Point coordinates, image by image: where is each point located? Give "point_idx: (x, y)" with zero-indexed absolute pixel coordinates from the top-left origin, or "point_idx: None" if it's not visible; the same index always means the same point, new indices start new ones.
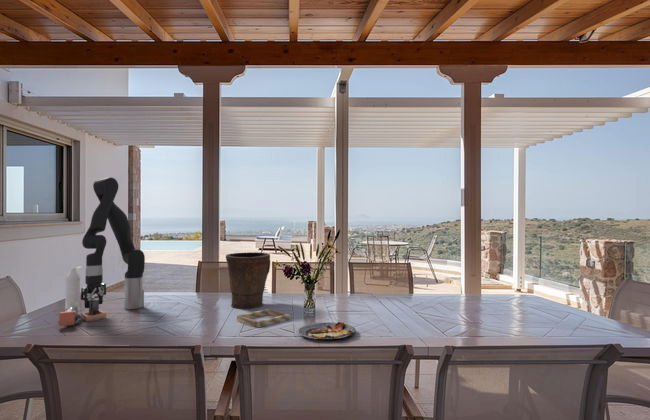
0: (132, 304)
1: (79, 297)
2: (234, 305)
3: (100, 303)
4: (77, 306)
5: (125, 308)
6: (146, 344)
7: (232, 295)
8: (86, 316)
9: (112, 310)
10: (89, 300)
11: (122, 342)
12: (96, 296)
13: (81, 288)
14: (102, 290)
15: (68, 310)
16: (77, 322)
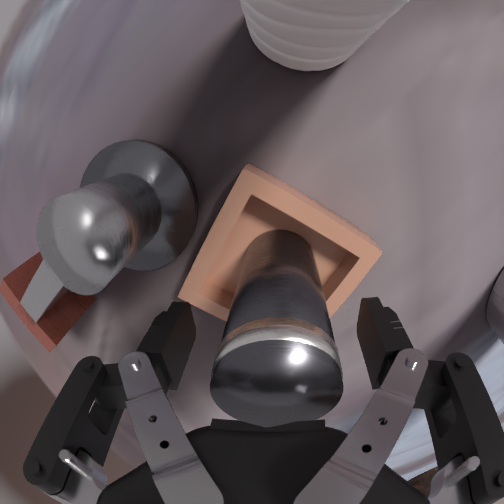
0: (498, 330)
1: (384, 7)
2: (417, 480)
3: (359, 328)
4: (317, 46)
5: (499, 278)
6: (136, 467)
7: (429, 492)
8: (178, 296)
9: (484, 219)
10: (173, 388)
11: (116, 448)
12: (306, 406)
13: (23, 468)
14: (477, 401)
15: (33, 294)
16: (130, 267)
